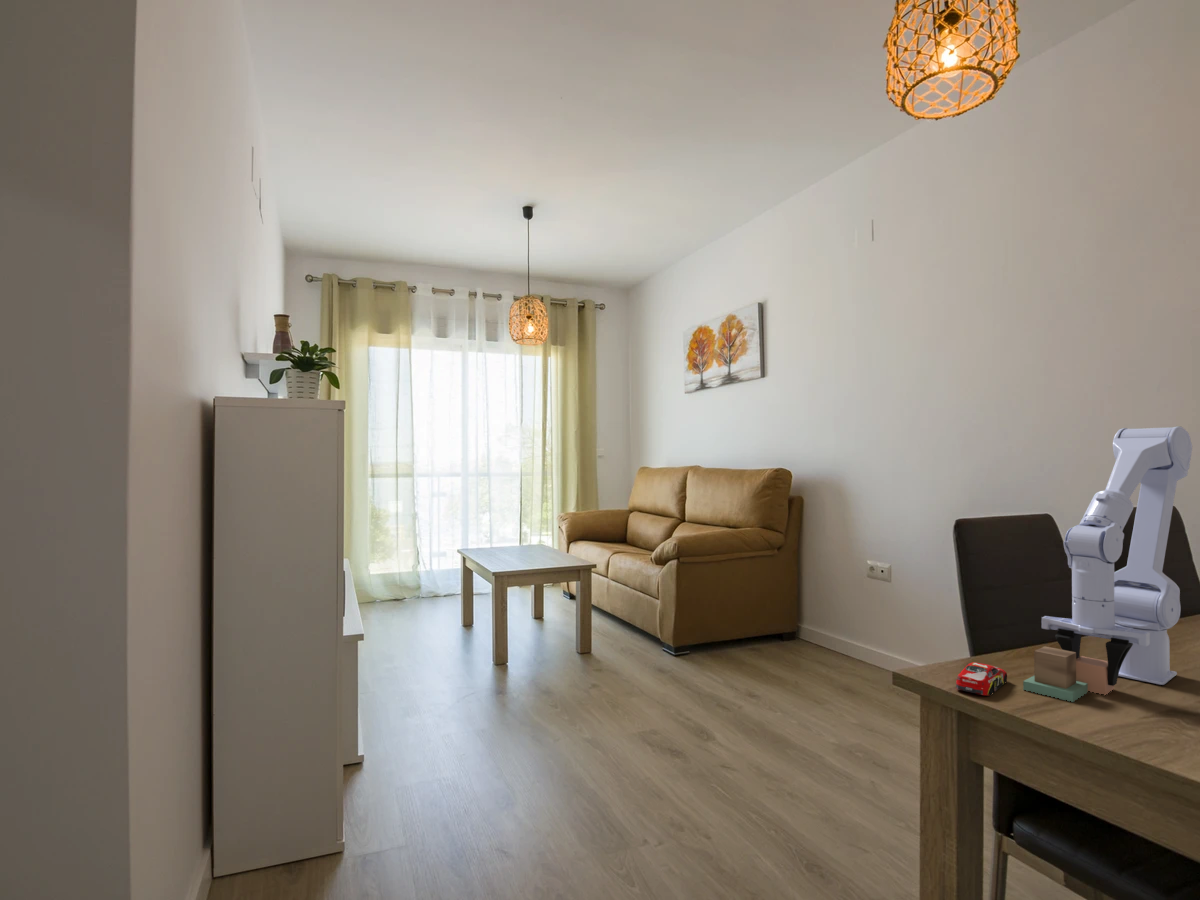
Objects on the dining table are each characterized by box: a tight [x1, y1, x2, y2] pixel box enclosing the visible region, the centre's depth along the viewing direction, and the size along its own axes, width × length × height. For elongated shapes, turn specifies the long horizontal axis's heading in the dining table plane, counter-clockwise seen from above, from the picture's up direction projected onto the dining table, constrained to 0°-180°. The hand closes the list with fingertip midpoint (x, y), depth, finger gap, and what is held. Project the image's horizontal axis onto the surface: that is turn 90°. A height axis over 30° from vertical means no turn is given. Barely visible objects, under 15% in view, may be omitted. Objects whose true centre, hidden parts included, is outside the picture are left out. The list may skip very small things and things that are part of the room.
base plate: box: [1022, 675, 1089, 703], centre depth 111 cm, size 7×7×2 cm
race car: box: [955, 661, 1008, 696], centre depth 114 cm, size 13×5×4 cm, turn 134°
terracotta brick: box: [1076, 655, 1115, 696], centre depth 113 cm, size 4×4×4 cm
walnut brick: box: [1033, 645, 1076, 689], centre depth 111 cm, size 4×4×5 cm
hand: (1093, 680), depth 113 cm, fingers closed on terracotta brick, 4 cm apart
